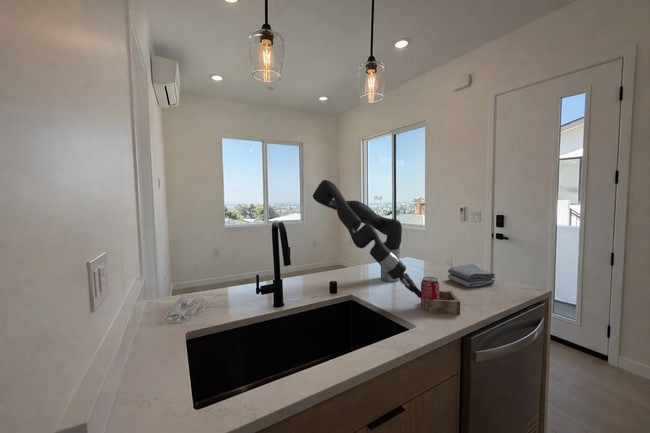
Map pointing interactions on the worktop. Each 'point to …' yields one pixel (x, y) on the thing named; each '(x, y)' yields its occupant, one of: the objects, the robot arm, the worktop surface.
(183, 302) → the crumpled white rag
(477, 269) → the towel
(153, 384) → the worktop surface
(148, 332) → the worktop surface
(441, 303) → the wooden tray
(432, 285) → the soda can
